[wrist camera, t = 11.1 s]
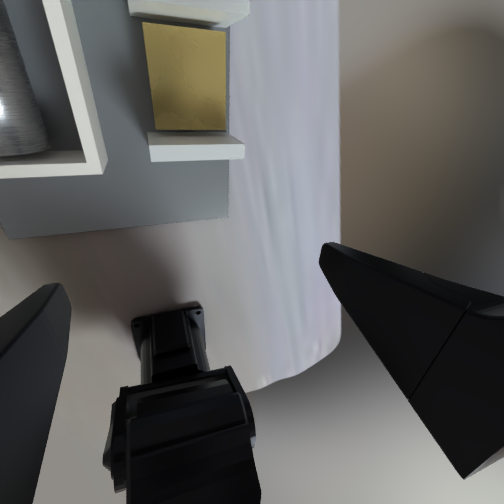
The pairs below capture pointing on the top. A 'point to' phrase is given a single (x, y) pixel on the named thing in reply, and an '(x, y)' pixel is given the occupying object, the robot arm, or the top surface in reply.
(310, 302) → the top surface
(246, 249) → the top surface
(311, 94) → the top surface
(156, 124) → the plate
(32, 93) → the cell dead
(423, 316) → the robot arm
